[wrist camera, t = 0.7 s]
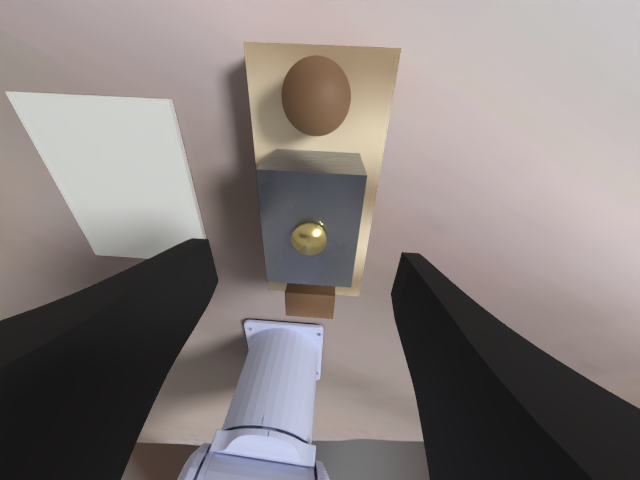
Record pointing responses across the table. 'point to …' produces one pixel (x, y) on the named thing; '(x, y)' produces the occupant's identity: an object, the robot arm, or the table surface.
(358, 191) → the lever cap
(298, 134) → the body
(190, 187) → the felt mat
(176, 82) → the table surface
